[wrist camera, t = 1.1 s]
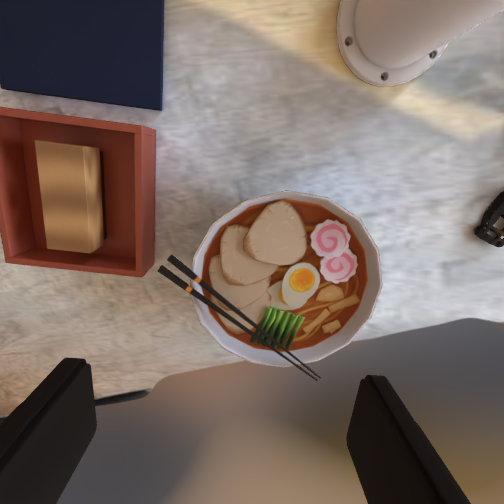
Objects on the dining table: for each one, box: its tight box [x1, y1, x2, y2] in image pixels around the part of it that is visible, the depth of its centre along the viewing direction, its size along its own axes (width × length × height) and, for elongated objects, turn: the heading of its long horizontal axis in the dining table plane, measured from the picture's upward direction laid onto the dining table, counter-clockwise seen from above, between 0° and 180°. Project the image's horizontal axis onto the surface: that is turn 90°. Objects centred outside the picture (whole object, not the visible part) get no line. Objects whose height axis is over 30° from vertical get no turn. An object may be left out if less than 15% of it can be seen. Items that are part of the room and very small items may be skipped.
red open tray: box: [0, 107, 156, 277], centre depth 34 cm, size 18×17×5 cm
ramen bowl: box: [158, 190, 383, 381], centre depth 36 cm, size 25×23×8 cm
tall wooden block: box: [35, 140, 107, 253], centre depth 33 cm, size 12×5×5 cm, turn 173°
